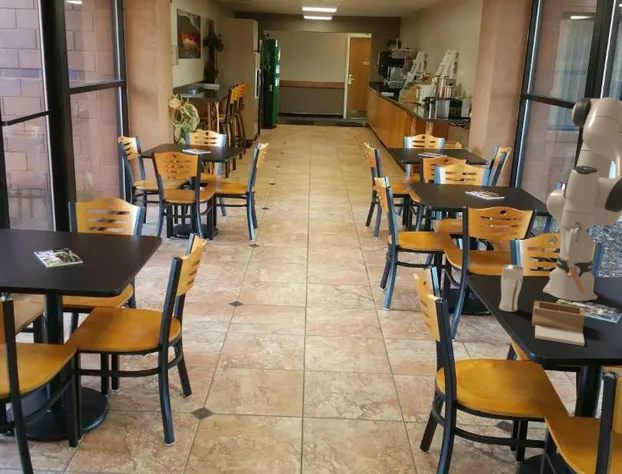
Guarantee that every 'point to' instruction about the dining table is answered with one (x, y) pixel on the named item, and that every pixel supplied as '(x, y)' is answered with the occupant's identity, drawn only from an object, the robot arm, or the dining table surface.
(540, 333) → the mat
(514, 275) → the beer glass
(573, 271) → the tile
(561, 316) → the pocket block
